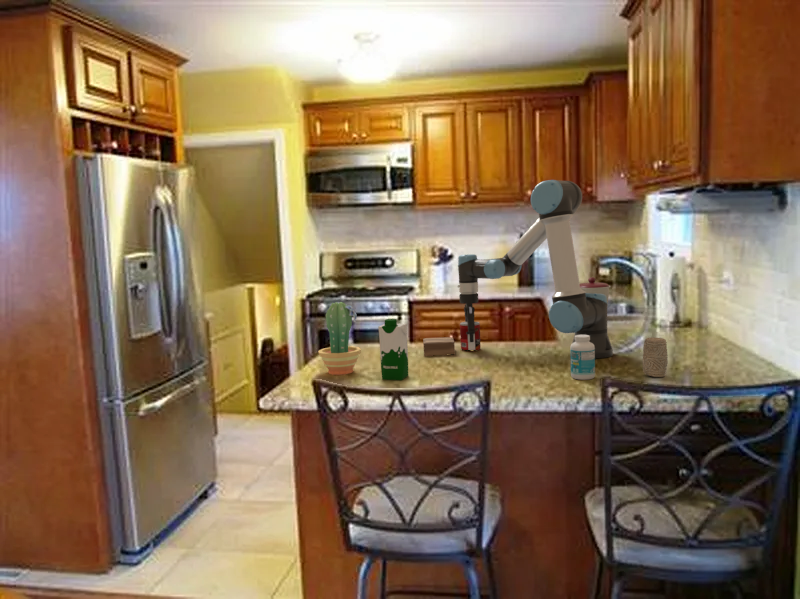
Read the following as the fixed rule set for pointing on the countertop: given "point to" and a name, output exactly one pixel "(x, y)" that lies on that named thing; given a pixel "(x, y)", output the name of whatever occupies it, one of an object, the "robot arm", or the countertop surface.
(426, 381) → the countertop surface
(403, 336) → the milk carton
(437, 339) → the block
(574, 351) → the pill bottle
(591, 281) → the canister
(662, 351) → the carving
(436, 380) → the countertop surface
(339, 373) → the potted cactus
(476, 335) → the canned food
